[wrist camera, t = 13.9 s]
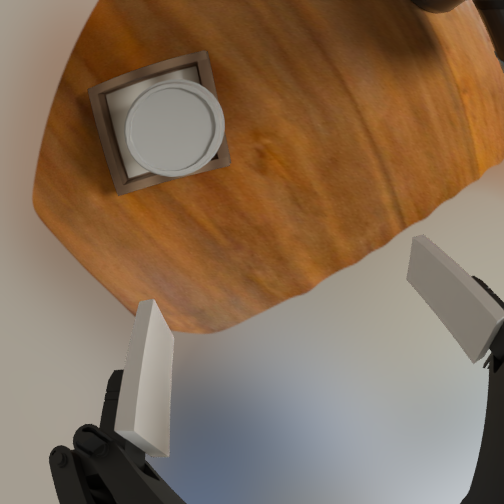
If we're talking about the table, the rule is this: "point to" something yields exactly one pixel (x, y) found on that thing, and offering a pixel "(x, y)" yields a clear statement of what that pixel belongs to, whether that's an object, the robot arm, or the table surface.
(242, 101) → the table surface
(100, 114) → the holder
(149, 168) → the disposable coffee cup
